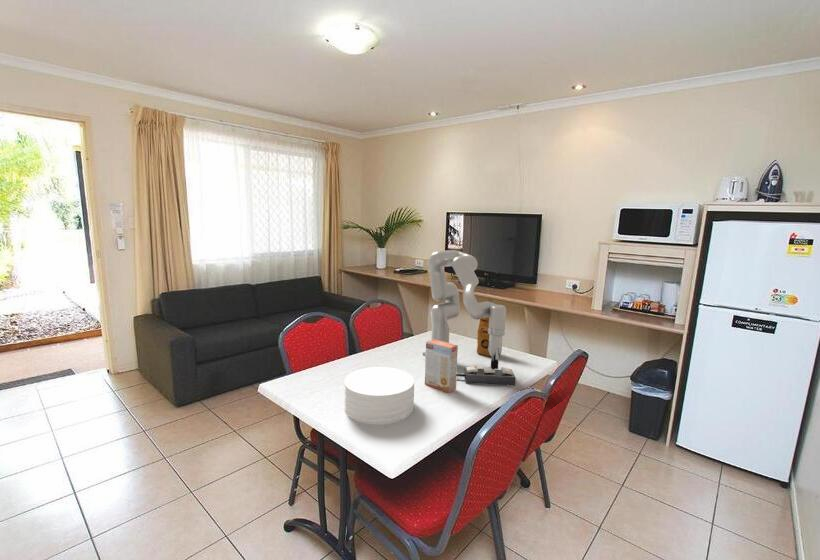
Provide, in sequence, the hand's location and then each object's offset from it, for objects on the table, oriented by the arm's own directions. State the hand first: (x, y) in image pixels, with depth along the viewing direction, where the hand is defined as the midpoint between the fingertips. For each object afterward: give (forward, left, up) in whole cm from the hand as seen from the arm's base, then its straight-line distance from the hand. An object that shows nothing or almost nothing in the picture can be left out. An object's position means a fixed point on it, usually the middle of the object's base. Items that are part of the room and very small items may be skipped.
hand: (494, 368), depth 184 cm
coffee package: (+2, +38, -7) cm, 39 cm away
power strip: (-5, 0, -6) cm, 8 cm away
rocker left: (-10, 0, -2) cm, 10 cm away
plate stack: (-51, -32, -7) cm, 60 cm away
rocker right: (+6, 0, -2) cm, 6 cm away
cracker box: (-26, -10, -7) cm, 28 cm away
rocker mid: (-2, 0, -2) cm, 3 cm away
